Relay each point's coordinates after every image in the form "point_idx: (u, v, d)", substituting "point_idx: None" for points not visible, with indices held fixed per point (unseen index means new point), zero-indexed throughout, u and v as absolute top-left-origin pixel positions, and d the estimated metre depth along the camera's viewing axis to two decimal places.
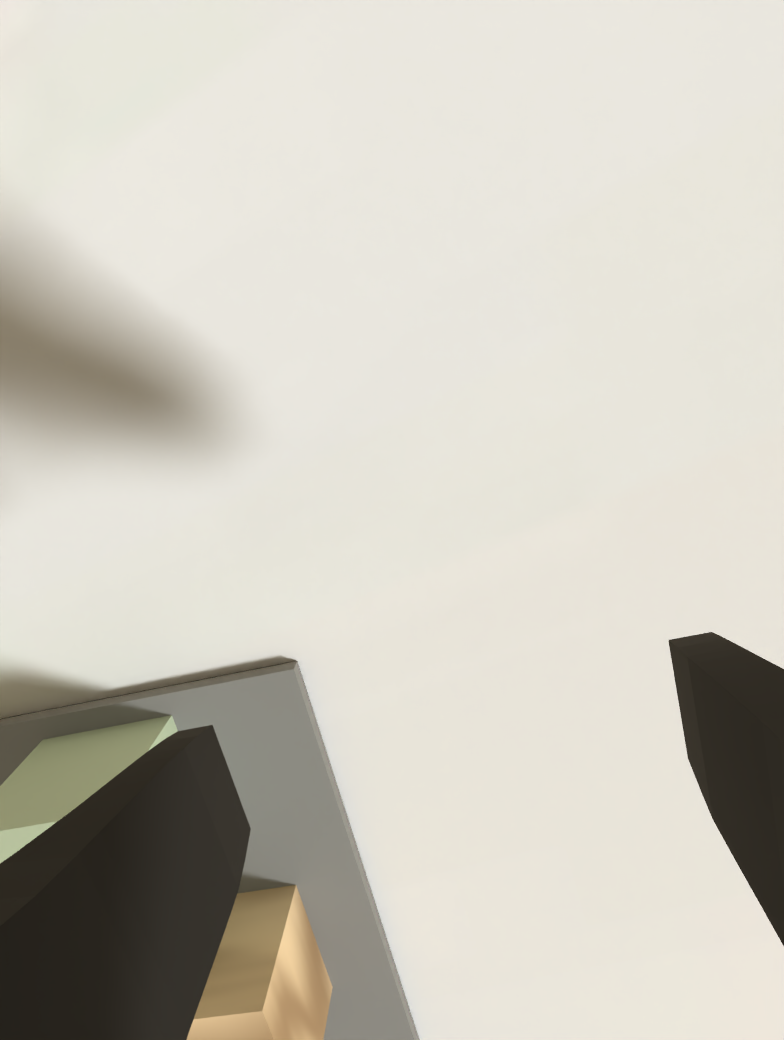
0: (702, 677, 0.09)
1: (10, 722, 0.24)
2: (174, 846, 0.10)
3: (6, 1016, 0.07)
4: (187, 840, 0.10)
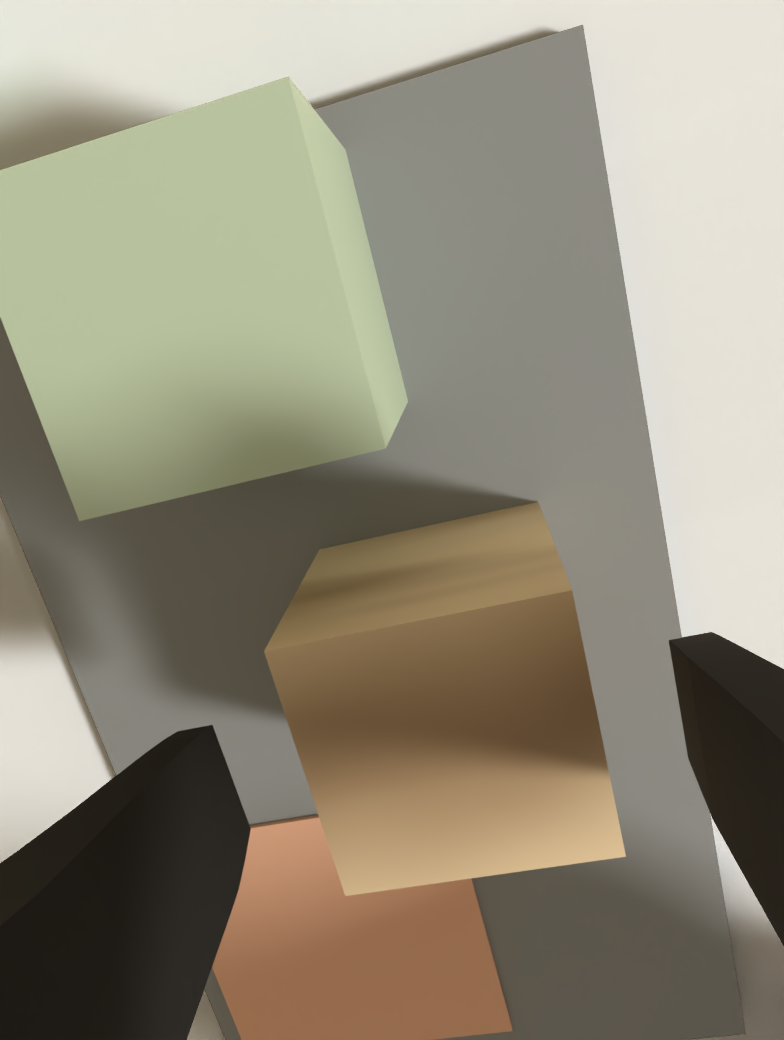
0: (702, 677, 0.09)
1: None
2: (174, 846, 0.10)
3: (6, 1016, 0.07)
4: (187, 840, 0.10)
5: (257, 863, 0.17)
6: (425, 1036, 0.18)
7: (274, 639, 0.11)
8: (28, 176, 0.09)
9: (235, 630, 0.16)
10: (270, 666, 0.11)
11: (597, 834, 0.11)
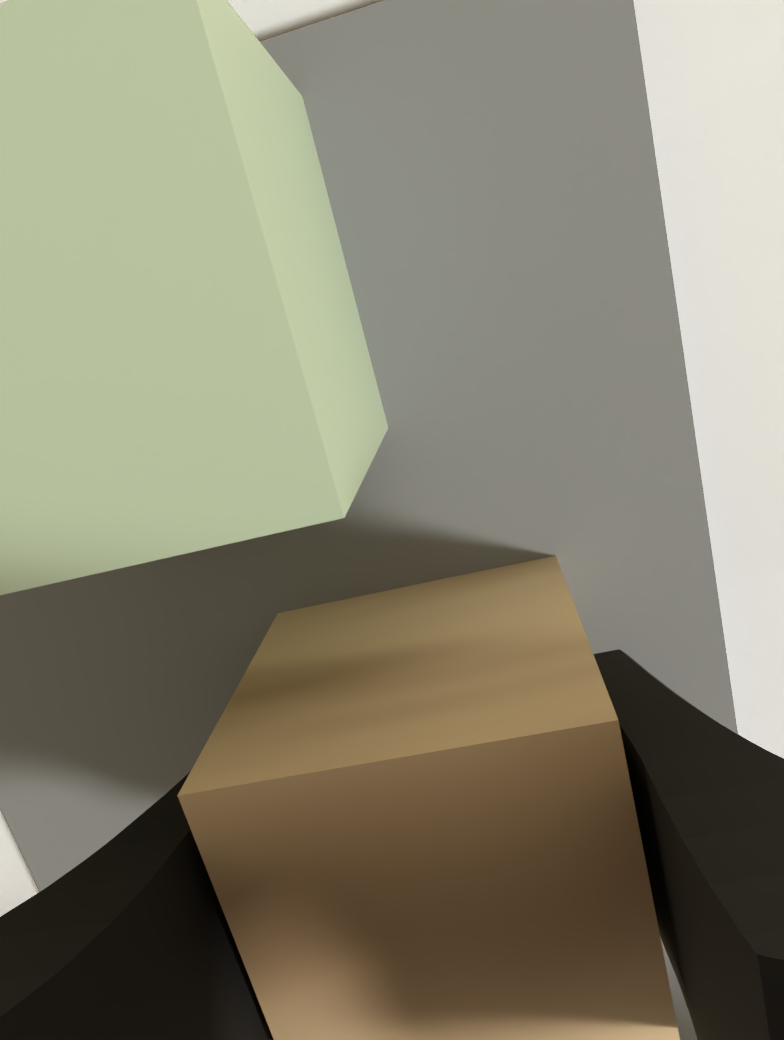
0: None
1: None
2: None
3: (135, 1000, 0.06)
4: None
5: None
6: None
7: (194, 772, 0.08)
8: None
9: (174, 711, 0.13)
10: (187, 815, 0.08)
11: None
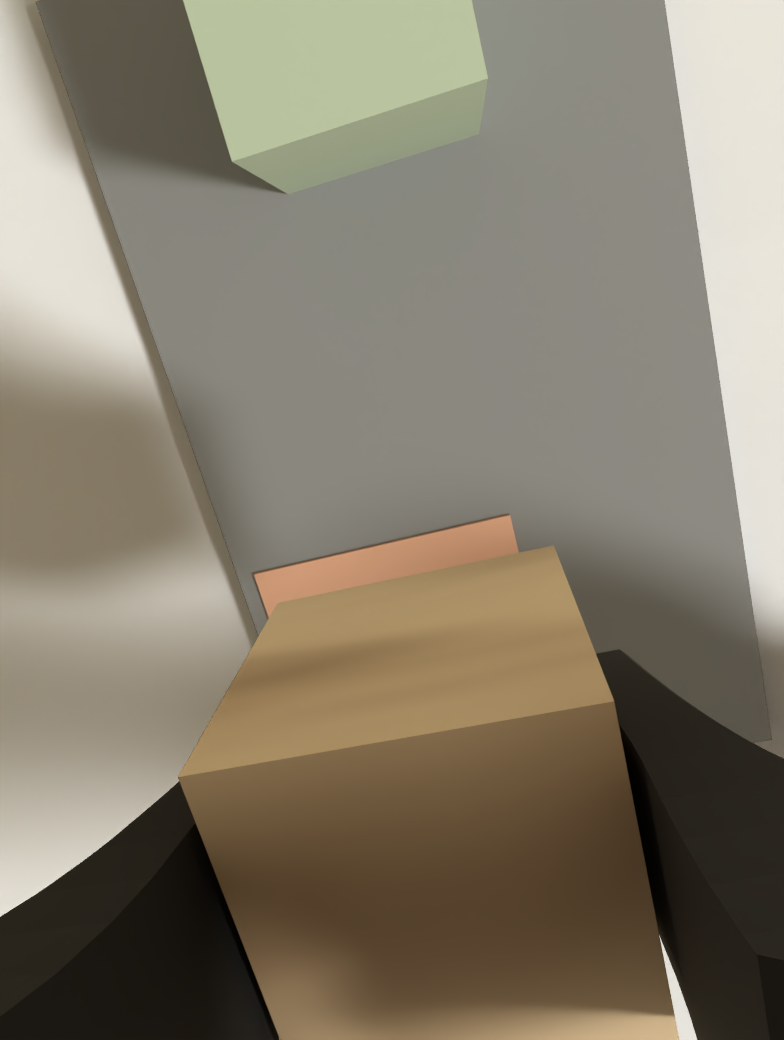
0: None
1: None
2: None
3: (135, 1000, 0.06)
4: None
5: None
6: None
7: (195, 755, 0.08)
8: None
9: (324, 362, 0.18)
10: (188, 796, 0.08)
11: (642, 1021, 0.08)
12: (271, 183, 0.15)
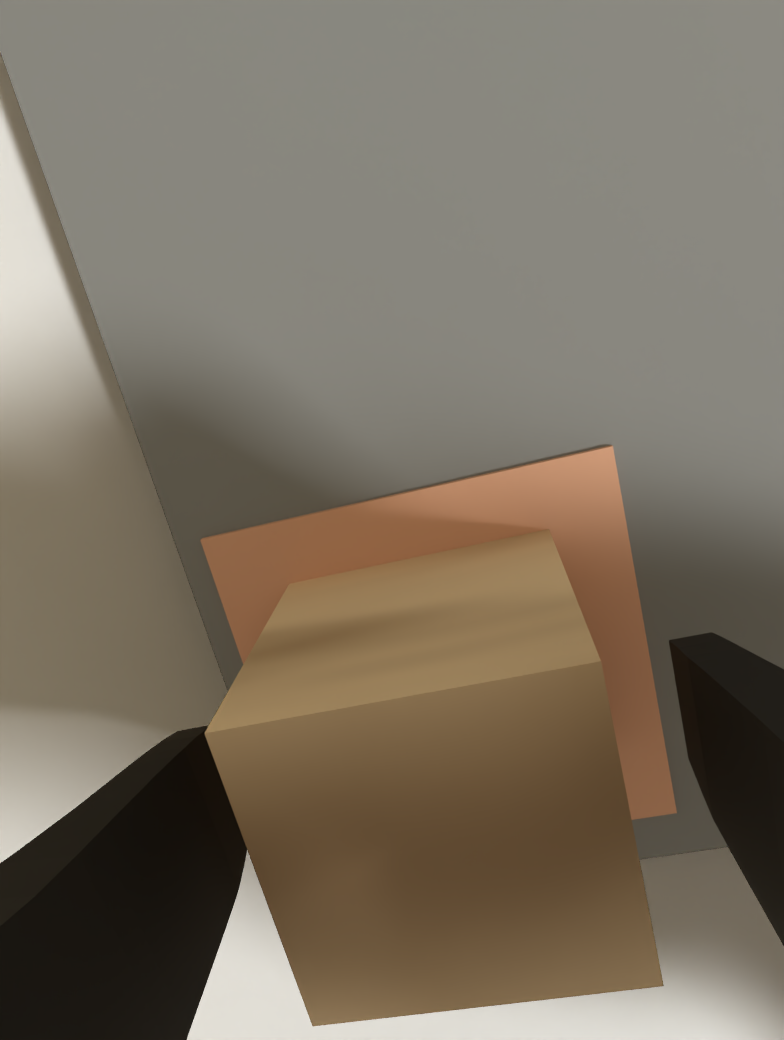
0: (702, 677, 0.09)
1: None
2: (174, 846, 0.10)
3: (6, 1016, 0.07)
4: (187, 840, 0.10)
5: (334, 567, 0.12)
6: None
7: (218, 715, 0.09)
8: None
9: (313, 183, 0.11)
10: (213, 751, 0.08)
11: (628, 959, 0.09)
12: None
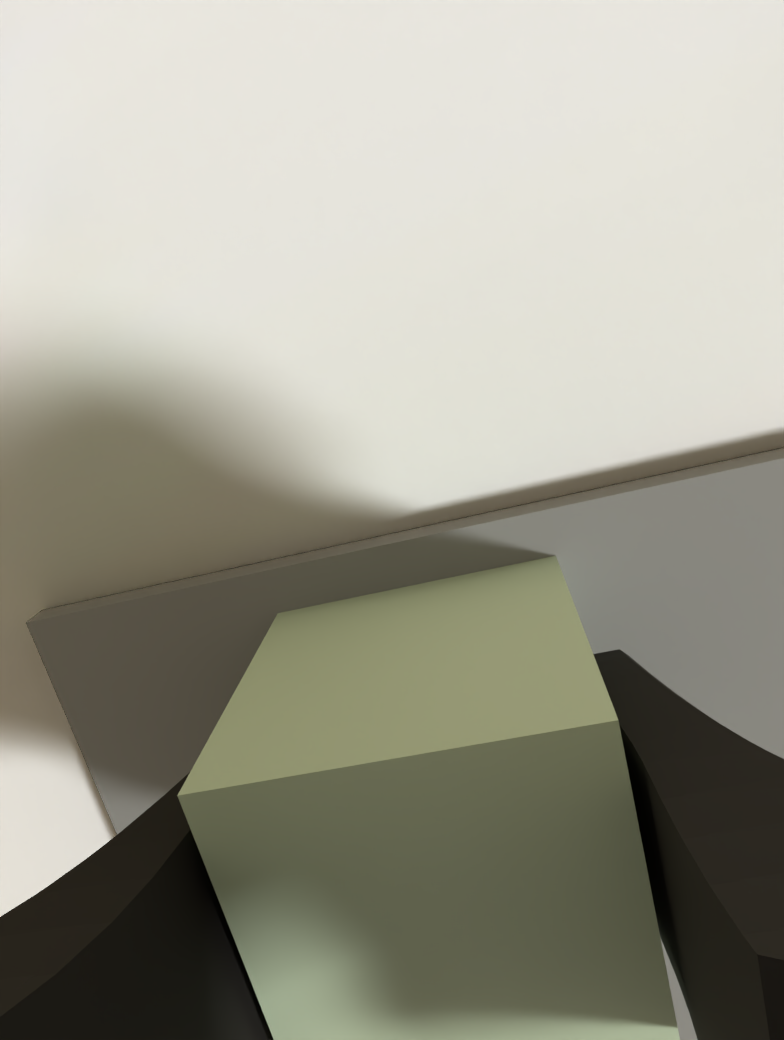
0: None
1: (210, 579, 0.12)
2: None
3: (134, 999, 0.06)
4: None
5: None
6: None
7: None
8: (276, 792, 0.07)
9: None
10: None
11: None
12: None
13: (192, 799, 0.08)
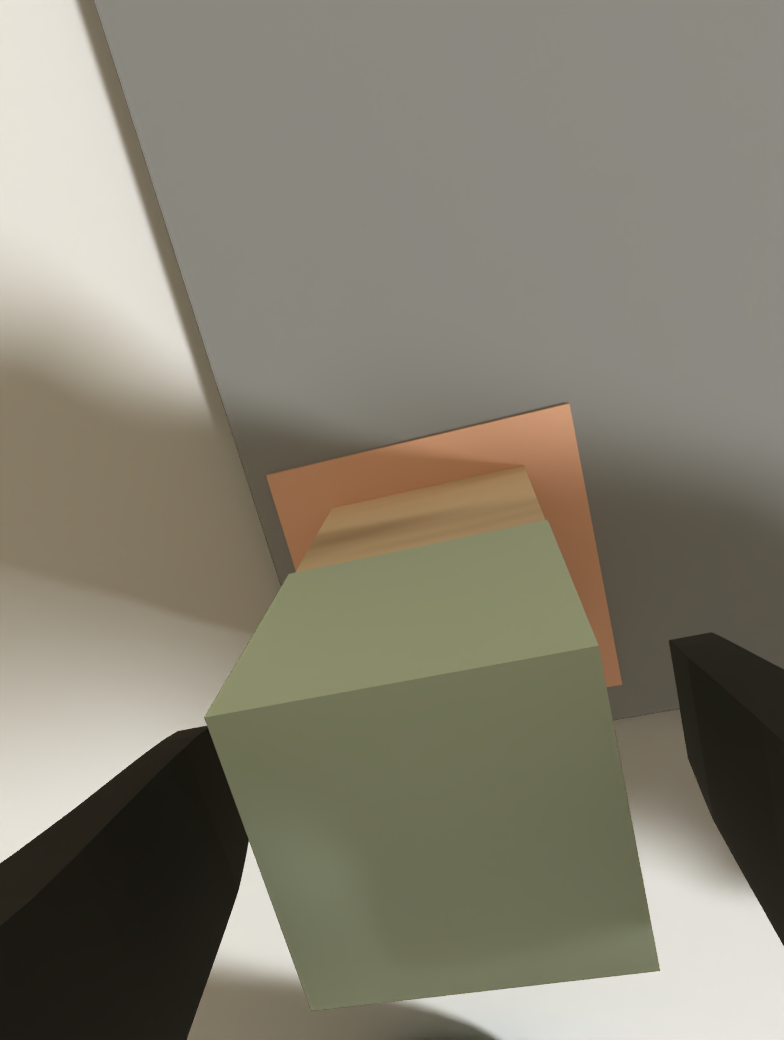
0: (702, 677, 0.09)
1: None
2: (174, 847, 0.10)
3: (6, 1016, 0.07)
4: (187, 840, 0.10)
5: (365, 495, 0.17)
6: None
7: None
8: (294, 714, 0.08)
9: (354, 214, 0.15)
10: None
11: None
12: None
13: (217, 721, 0.08)
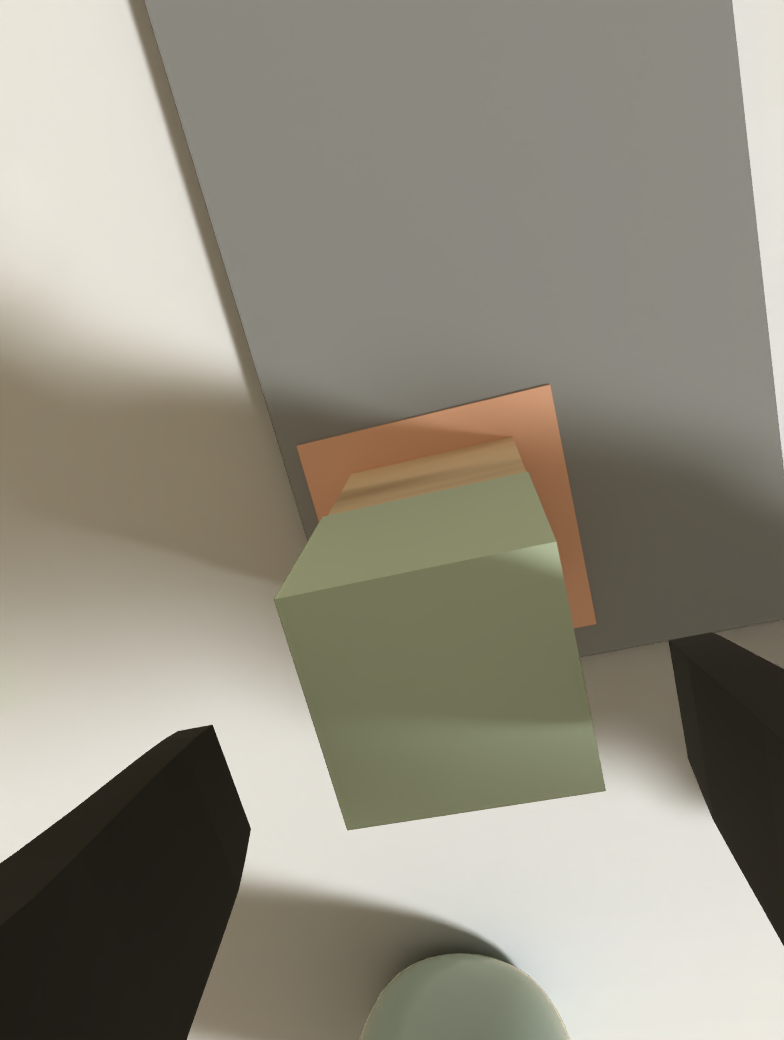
0: (702, 677, 0.09)
1: None
2: (173, 846, 0.10)
3: (6, 1016, 0.07)
4: (187, 840, 0.10)
5: (379, 462, 0.20)
6: None
7: None
8: (339, 595, 0.12)
9: (372, 227, 0.18)
10: None
11: None
12: None
13: (283, 602, 0.12)
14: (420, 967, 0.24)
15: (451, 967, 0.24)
